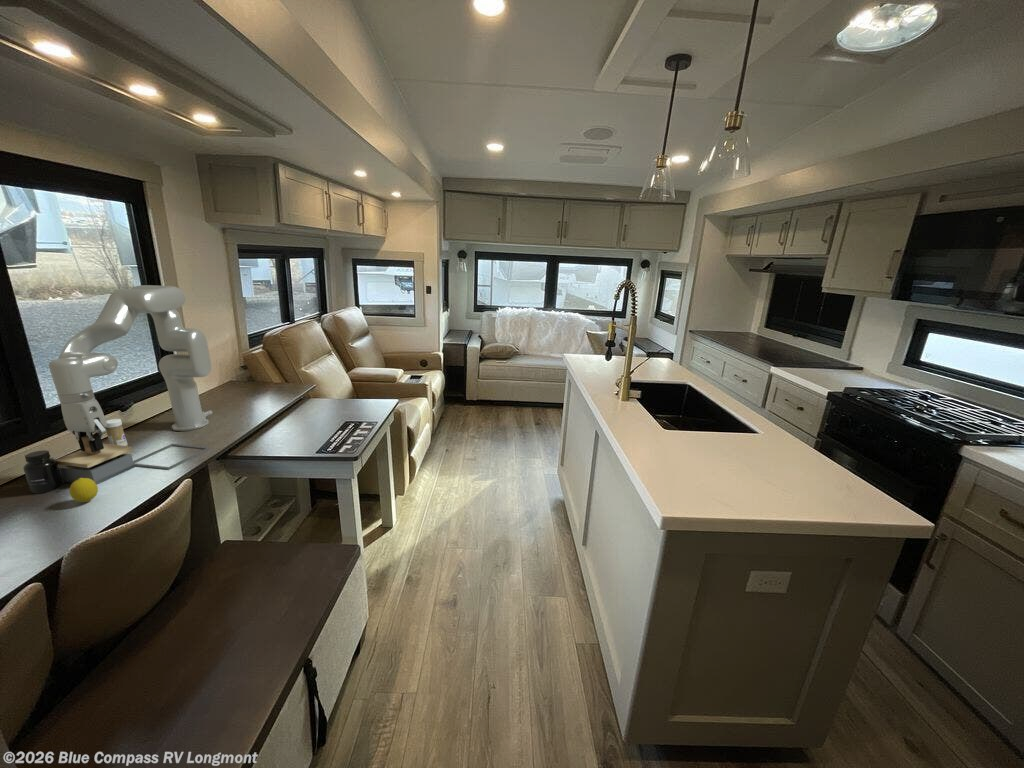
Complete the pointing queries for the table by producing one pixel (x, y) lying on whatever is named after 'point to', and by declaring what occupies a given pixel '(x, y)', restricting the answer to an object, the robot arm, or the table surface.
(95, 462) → the lid
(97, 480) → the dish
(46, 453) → the supplement bottle
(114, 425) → the sprinkles bottle
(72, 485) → the lemon
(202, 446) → the picture frame
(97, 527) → the table surface
